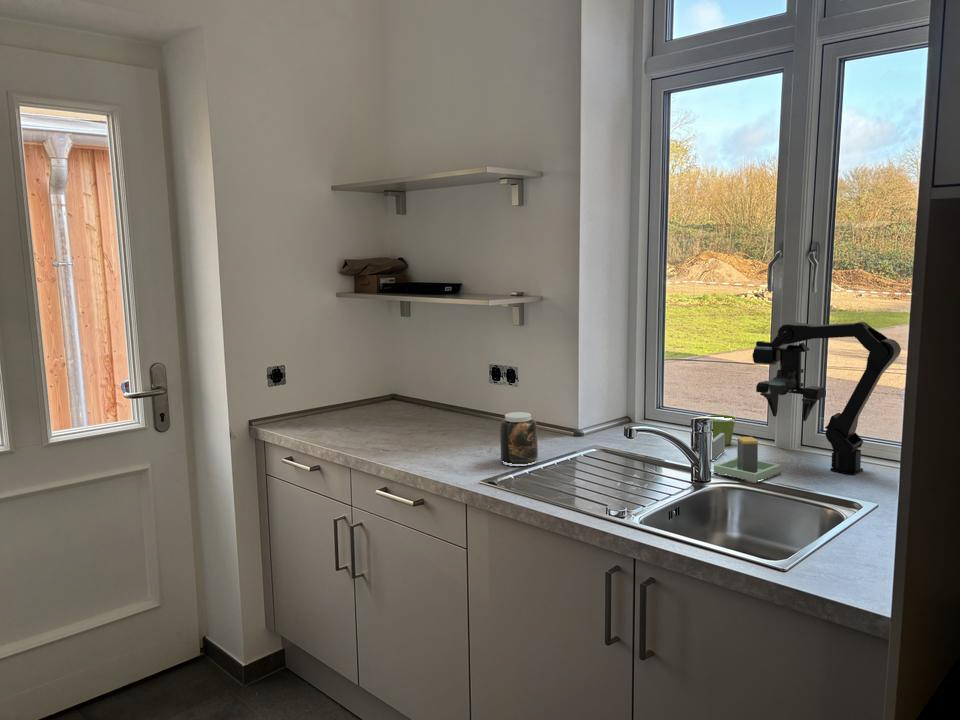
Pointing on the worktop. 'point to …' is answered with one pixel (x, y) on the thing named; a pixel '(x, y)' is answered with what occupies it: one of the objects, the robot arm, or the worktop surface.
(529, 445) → the jar
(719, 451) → the panel
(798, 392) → the robot arm
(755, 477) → the tray
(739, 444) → the grey yellow-capped canister
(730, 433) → the plant pot
